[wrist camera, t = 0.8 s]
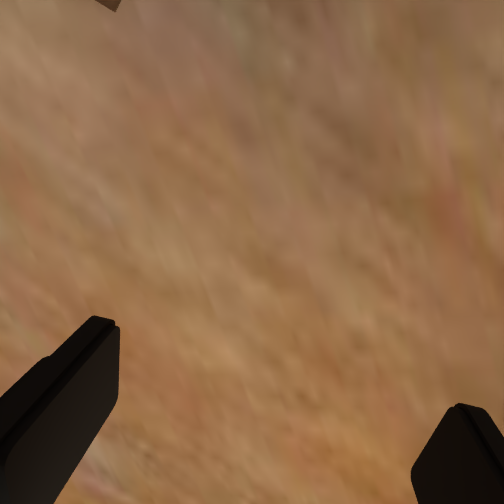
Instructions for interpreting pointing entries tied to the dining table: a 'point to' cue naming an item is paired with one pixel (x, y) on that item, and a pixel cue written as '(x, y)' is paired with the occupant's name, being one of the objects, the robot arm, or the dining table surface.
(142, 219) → the dining table surface
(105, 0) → the wooden tray
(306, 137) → the dining table surface
